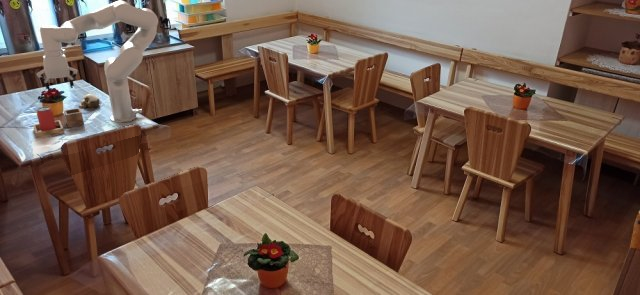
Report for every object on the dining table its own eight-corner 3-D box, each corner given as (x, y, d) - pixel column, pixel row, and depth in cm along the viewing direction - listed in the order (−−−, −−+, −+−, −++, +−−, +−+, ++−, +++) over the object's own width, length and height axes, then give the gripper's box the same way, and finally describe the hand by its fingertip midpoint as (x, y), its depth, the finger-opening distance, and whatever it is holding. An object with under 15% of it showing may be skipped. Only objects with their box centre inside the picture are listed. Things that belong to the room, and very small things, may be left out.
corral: (61, 125, 238) (59, 120, 236) (64, 133, 229) (63, 128, 228) (34, 130, 232) (33, 124, 230) (37, 139, 223) (35, 133, 222)
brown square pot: (81, 120, 244) (79, 107, 241) (84, 125, 238) (81, 112, 235) (66, 123, 240) (63, 110, 237) (68, 128, 235) (65, 114, 232)
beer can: (50, 135, 227) (45, 111, 222) (38, 134, 228) (32, 110, 223) (60, 130, 233) (54, 106, 228) (48, 129, 234) (42, 105, 229)
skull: (72, 109, 255) (77, 91, 258) (83, 116, 265) (88, 99, 268) (92, 110, 253) (97, 92, 256) (103, 117, 263) (108, 100, 266)
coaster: (85, 126, 237) (84, 125, 237) (88, 133, 230) (88, 131, 230) (64, 130, 232) (64, 129, 232) (67, 137, 226) (67, 135, 225)
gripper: (73, 49, 229) (79, 84, 236) (31, 53, 220) (39, 88, 227) (75, 53, 223) (81, 88, 230) (32, 56, 215) (40, 93, 222)
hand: (60, 88), depth 229 cm, fingers open, 9 cm apart
